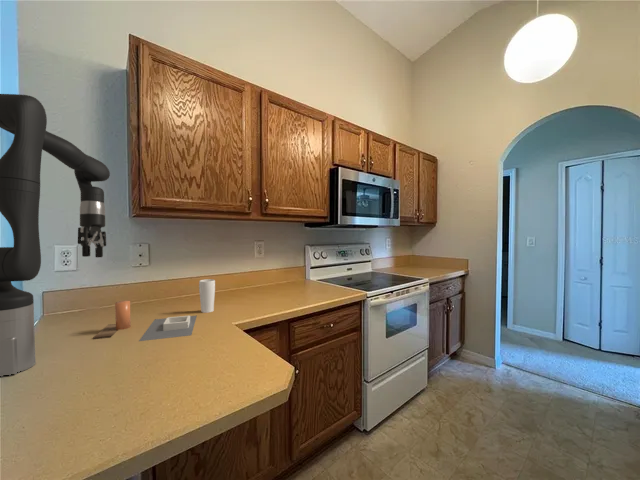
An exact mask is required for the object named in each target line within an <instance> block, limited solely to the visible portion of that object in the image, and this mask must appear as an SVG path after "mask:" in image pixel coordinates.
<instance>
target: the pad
mask: <svg viewBox="0 0 640 480" xmlns="http://www.w3.org/2000/svg"><path fill="white" fill-rule="evenodd" d="M118 331H119V330H116V323H110V324H107V325H106V326H105V327H104V328H103V329H101V330H100V331H99V332H98V333H97V334H96V335H94V336H93V340H94V339H95V340H97V339H106V338H107V339H108V338H112V337H113V336H114V335H115V334H116V333H117V332H118Z"/></svg>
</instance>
